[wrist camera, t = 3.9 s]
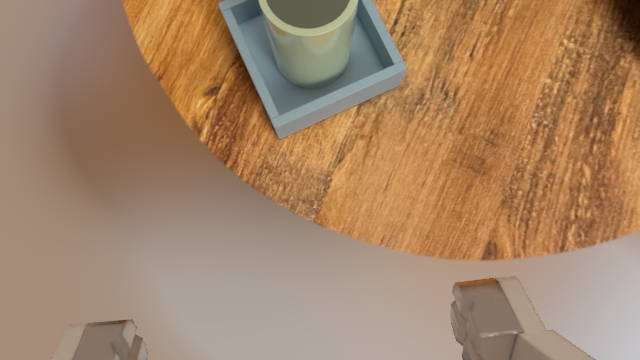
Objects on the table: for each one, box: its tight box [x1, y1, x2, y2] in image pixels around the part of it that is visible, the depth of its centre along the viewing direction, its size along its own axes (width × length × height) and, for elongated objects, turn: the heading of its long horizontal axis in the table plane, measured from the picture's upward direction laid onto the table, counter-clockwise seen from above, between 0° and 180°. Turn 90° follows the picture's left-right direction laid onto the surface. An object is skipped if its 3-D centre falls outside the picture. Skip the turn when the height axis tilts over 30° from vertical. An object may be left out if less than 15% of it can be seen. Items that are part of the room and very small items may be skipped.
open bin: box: [218, 0, 407, 139], centre depth 40 cm, size 12×12×4 cm
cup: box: [258, 0, 358, 89], centre depth 36 cm, size 7×7×10 cm
